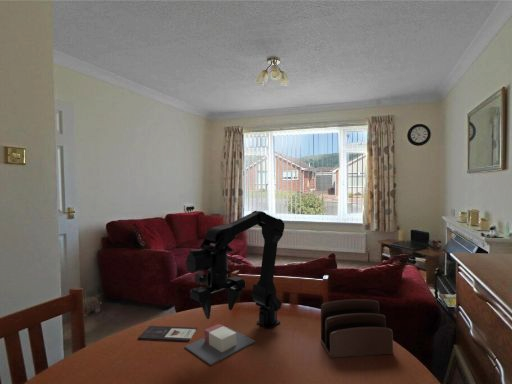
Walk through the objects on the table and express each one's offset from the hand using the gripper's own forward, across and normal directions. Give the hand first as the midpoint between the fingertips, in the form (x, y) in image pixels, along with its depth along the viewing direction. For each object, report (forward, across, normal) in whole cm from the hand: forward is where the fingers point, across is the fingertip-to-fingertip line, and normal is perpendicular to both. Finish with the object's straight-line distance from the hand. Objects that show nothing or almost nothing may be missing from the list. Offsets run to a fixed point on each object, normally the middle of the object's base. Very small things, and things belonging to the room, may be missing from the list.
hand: (219, 314), depth 100 cm
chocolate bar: (+11, +8, -19) cm, 23 cm away
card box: (+10, 0, 0) cm, 10 cm away
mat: (+10, 0, 0) cm, 10 cm away
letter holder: (+11, -29, +32) cm, 45 cm away
